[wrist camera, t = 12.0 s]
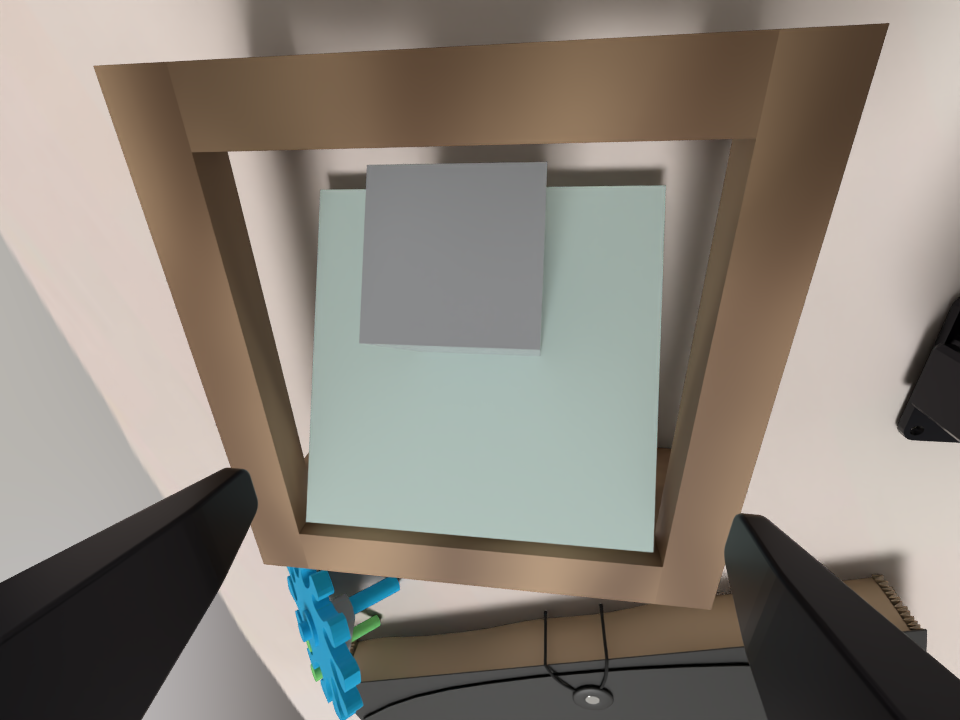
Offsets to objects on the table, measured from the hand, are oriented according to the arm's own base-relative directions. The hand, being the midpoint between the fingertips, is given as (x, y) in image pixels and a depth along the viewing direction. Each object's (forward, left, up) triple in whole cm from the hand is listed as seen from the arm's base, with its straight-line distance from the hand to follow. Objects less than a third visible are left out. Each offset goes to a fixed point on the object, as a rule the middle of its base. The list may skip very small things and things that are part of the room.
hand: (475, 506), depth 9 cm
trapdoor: (+1, +2, -10) cm, 10 cm away
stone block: (+1, -1, -10) cm, 10 cm away
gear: (+11, +19, -13) cm, 26 cm away
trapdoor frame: (+1, +1, -13) cm, 13 cm away
